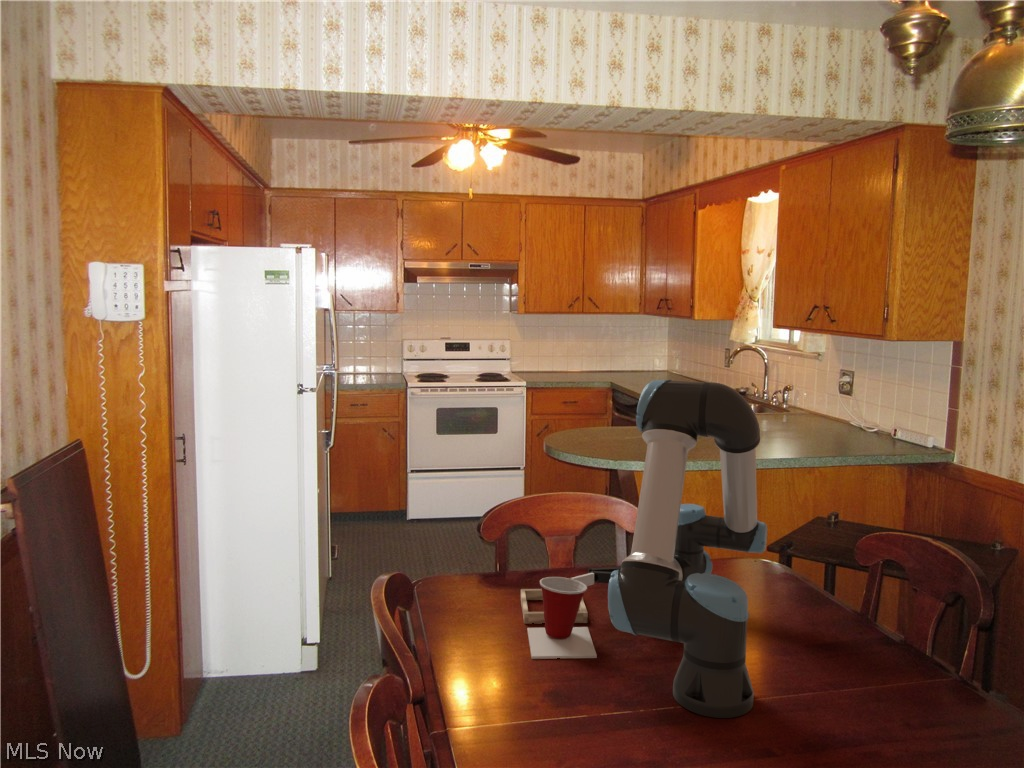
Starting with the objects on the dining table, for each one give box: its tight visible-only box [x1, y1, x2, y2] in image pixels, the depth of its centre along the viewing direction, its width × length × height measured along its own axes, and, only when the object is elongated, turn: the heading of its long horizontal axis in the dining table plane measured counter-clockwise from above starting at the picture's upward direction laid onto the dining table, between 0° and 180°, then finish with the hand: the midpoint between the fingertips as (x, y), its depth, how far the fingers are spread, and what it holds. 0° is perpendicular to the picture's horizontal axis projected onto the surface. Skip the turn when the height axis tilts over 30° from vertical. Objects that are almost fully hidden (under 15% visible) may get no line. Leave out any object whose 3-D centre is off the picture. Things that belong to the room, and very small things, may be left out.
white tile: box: [526, 626, 598, 660], centre depth 174 cm, size 14×14×1 cm
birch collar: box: [520, 588, 589, 625], centre depth 192 cm, size 15×15×2 cm
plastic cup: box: [539, 576, 588, 639], centre depth 177 cm, size 11×11×12 cm
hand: (589, 593), depth 177 cm, fingers open, 13 cm apart
